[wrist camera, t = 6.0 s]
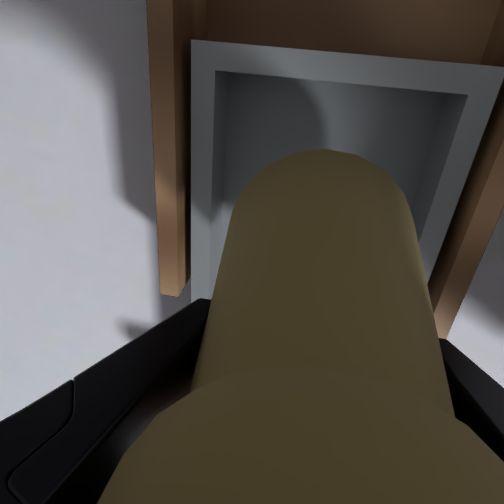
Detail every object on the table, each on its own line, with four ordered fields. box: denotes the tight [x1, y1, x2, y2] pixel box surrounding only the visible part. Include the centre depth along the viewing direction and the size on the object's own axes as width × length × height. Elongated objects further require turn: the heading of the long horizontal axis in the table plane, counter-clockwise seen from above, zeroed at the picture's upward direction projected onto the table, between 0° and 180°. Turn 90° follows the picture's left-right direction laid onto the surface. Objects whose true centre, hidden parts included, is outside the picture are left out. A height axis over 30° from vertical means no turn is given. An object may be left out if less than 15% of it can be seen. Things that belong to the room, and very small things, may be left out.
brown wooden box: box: [146, 0, 504, 339], centre depth 12 cm, size 19×12×4 cm, turn 176°
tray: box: [191, 40, 504, 303], centre depth 16 cm, size 19×12×4 cm, turn 176°
